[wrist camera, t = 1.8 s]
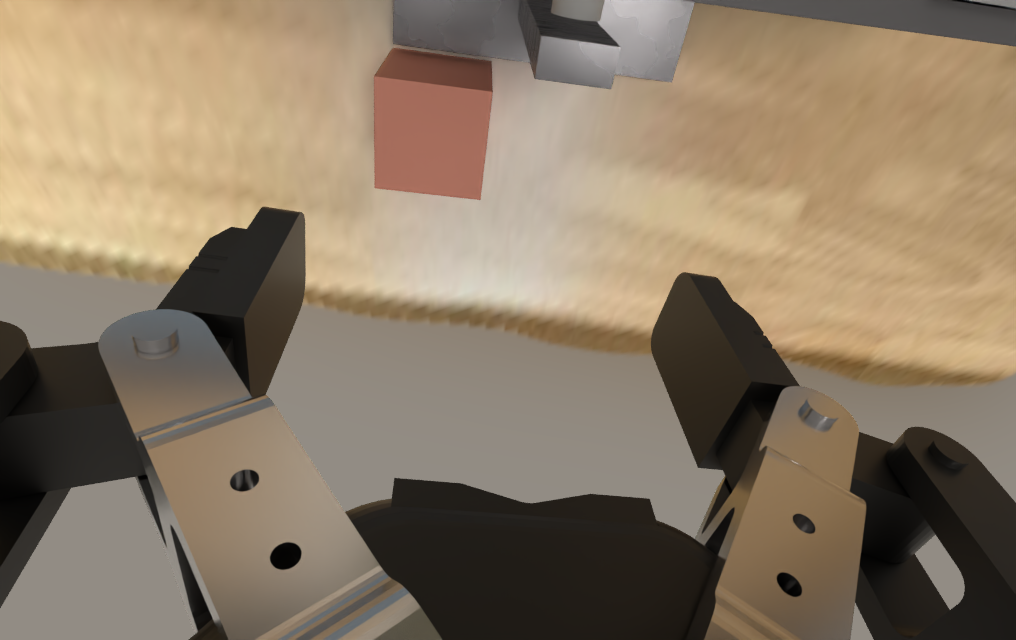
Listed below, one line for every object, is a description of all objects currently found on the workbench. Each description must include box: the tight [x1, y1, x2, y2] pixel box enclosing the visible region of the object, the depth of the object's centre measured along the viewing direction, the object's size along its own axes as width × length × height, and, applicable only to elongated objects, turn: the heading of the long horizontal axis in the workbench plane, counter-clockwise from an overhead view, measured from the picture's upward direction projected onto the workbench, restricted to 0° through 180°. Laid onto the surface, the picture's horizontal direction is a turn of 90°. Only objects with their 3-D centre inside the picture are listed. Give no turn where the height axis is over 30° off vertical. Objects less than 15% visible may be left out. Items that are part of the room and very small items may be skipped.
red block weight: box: [374, 48, 493, 200], centre depth 28 cm, size 5×5×6 cm
